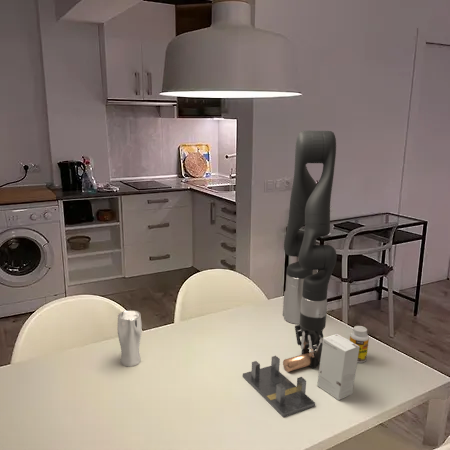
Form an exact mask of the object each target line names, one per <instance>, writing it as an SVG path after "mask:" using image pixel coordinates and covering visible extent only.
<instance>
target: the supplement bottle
mask: <svg viewBox="0 0 450 450" xmlns="http://www.w3.org/2000/svg"><path fill="white" fill-rule="evenodd" d="M349 340H350V341H351V342H353V343H354V344H356V345H358V346H359V353H358V360H357V364H358V363H360V364H361V363H364V362H366V361H367V357H368V350H369V349H368V348H369V341H370V336H369V334H368V328H366V327H365V326H362V325H354V327H353V330H352V331H351V332H350V335H349Z"/></svg>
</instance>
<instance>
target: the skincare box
mask: <svg viewBox="0 0 450 450" xmlns="http://www.w3.org/2000/svg"><path fill="white" fill-rule="evenodd" d="M358 353H359V346H358V345H356V344H354V343H353V342H351V341H350V339H348V338H346V337H344V336H342V335H340V334H338V333H334V334H332V335H329V336H324V337H323V345H322V352H321V359H320V363H319V369H318V375H317V383H316V386H317V387H319V389H322V390H323V391H324V392H326V393H328V395H331V396H332V397H333V398H335V399H336V400H337V401H340V400H342V399H345V398H346V397H350V396H351V395H353V393H354V392H353V391H354V385H355V379H356V372H357V366H358V362H357V360H358Z"/></svg>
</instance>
